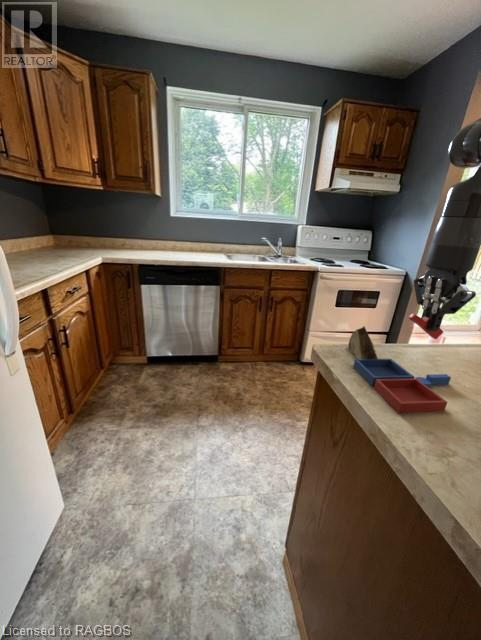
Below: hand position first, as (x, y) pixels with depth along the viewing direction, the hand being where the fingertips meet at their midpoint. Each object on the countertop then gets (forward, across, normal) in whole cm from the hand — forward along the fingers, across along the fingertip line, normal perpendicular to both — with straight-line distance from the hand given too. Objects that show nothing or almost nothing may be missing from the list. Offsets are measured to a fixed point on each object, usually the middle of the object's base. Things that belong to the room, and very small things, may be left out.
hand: (428, 328), depth 57 cm
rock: (+16, +16, +2) cm, 23 cm away
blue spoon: (+15, +3, -8) cm, 18 cm away
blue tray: (+16, +7, +3) cm, 17 cm away
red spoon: (0, 0, +1) cm, 1 cm away
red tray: (+16, -3, +2) cm, 16 cm away
